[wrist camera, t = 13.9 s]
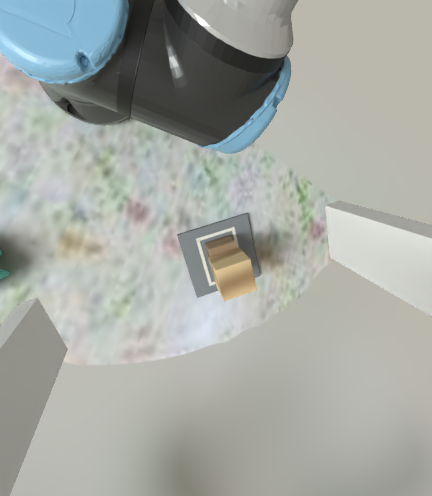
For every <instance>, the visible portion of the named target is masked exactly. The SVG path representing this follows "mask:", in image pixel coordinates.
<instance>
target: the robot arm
mask: <svg viewBox="0 0 432 496" xmlns="http://www.w3.org/2000/svg"><path fill="white" fill-rule="evenodd" d="M297 1H298V0H0V52H1V53H2V55H3V56H5V57H6V58H7V60H8V61H9V62H11V63H12V64H13V65H14V66H15V67H16V68H17V69H18V70H20V71H22V72H24V73H25V74H26V75H27V76H29V77H31V78H34V79H36V80H38V81H39V82H40V84H41V86H42V87H43V89H44V91H45V92H46V93H47V95H48V96H49V97H50V98H51V100H52V101H53V102H54V103H55V104H56V105H57V106H58V107H60V108H61V109H62V110H63V111H65V112H66V113H68V114H69V115H71V116H73V117H75V118H77V119H79V120H81V121H84V122H86V123H90V124H95V125H111V124H116V123H119V122H121V121H123V120H125V119H127V118H129V117H131V118H132V119H135V120H137V121H140V122H142V123H145V124H147V125H150V126H152V127H155V128H157V129H160V130H162V131H165V132H167V133H170V134H172V135H175V136H178V137H180V138H183V139H185V140H188V141H190V142H193V143H195V144H197V145H198V146H200V147H202V148H203V147H204V148H207V149H210V148H211V149H214V150H217V151H220V152H223V153H227V154H232V153H237V152H240V151H242V150H244V149H245V148H247V147H248V146H250V145H251V144H252V143H253V142H254V141H255V140H256V139H257V138H258V137H259V136H260V135H261V134H262V132H263V131H264V130H265V129H266V127H267V126H268V125H269V123H270V122H271V120H272V118H273V117H274V115H275V113H276V112H277V110H276V107H277V105H278V104H279V102H280V101H282V100H283V98H284V95H285V93H286V90H287V87H288V85H289V81H290V76H291V64H290V60H289V58H288V57H287V54H288V53H289V51H290V49H291V47H292V45H293V33H292V23H291V12H292V10H293V8H294V7H295V5H296V3H297ZM325 207H326V218H327V229H328V240H329V251H330V258H332V259H334V260H335V261H337V262H339V263H341V264H342V265H344V266H346V267H348V268H349V269H351V270H352V271H354V272H356V273H358V274H359V275H361V276H363V277H364V278H366V279H368V280H370V281H371V282H373V283H375V284H376V285H378V286H380V287H382V288H383V289H385V290H387V291H388V292H390V293H392V294H393V295H395V296H397V297H399V298H400V299H402V300H404V301H405V302H407V303H409V304H411V305H412V306H414V307H416V308H418V309H419V310H421V311H423V312H424V313H426V314H428V315H430V316H431V317H432V225H429V224H425V223H422V222H418V221H414V220H410V219H406V218H403V217H399V216H395V215H391V214H387V213H384V212H380V211H376V210H372V209H368V208H365V207H361V206H357V205H353V204H349V203H345V202H342V201H338V202H335V203H332V204H329V205H326V206H325ZM67 350H68V348H67V347H66V345H65V343H64V342H63V340H62V338H61V337H60V335H59V333H58V331H57V330H56V328H55V326H54V325H53V323H52V321H51V320H50V318H49V316H48V314H47V313H46V311H45V309H44V308H43V306H42V304H41V303H40V301H39V299H38V298H36V299H33V300H30V301H27V302H23V303H20V304H18V305H17V306H16V307H15V309H14V310H13V311H12V312H11V313H10V315H9V316H8V317H7V318H6V319H5V321H4V322H3V323H2V324H1V325H0V496H10V493H11V491H12V488H13V486H14V483H15V481H16V478H17V476H18V473H19V471H20V468H21V466H22V463H23V461H24V458H25V456H26V453H27V450H28V448H29V446H30V443H31V440H32V438H33V435H34V433H35V430H36V428H37V425H38V423H39V420H40V418H41V415H42V413H43V410H44V408H45V405H46V402H47V400H48V397H49V395H50V392H51V390H52V387H53V385H54V383H55V380H56V377H57V375H58V372H59V370H60V367H61V365H62V362H63V360H64V357H65V355H66V352H67Z"/></svg>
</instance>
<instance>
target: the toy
mask: <svg viewBox="0 0 432 496" xmlns="http://www.w3.org/2000/svg"><path fill="white" fill-rule="evenodd" d="M1 255H2V250H1V249H0V256H1ZM8 275H10V273H9V271H6V270H1V269H0V279H2V278H4V277H6V276H8Z"/></svg>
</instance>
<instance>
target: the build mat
mask: <svg viewBox="0 0 432 496" xmlns="http://www.w3.org/2000/svg"><path fill="white" fill-rule="evenodd" d="M227 235H229V236H230V237H231V238H232V239H233V240H234V241H235V244H236V248H238V247H239V248H240V249H241V250H242V251H243V252H244V253H245V254H246V255H247V256H248V257H249V258H250V260H251V265H252V269H253V274H254V278H256V277H259V276H260V273H259V268H258V263H257V258H256V253H255V249H254V244H253V239H252V234H251V229H250V224H249V220H248V215H247V213H245V214H242V215H239V216H235V217H232V218H229V219H226V220H223V221H219V222H216V223H213V224H210V225H207V226H203V227H200V228H197V229H194V230H191V231H187V232H184V233H181V234H178V235H177V236H178V239H179V242H180V245H181V248H182V252H183V255H184V258H185V261H186V264H187V267H188V270H189V273H190V277H191V280H192V283H193V286H194V289H195V292H196V295H197V298H198V297H201V296H204V295H207V294H209V293H212V292H215V291H218V288H217V286H216V284H215V280H214V277H213V273H212V270H211V266H210V263H209V259H208V253H207V250H206V246H205V242H209V241H212V240H215V239H218V238H221V237H224V236H227Z"/></svg>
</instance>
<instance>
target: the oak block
mask: <svg viewBox="0 0 432 496" xmlns="http://www.w3.org/2000/svg"><path fill="white" fill-rule="evenodd" d="M208 259H209V263H210V266H211V270H212V273H213V277H214V280H215V284H216V286H217V288H218V290H219V292H220V294H221V296H222V298H223V300H224V301H226V300H229V299H232V298H235V297H238V296H241V295H243V294H246V293H249V292H252V291H255V290H257V288H256V283H255V279H254V274H253V269H252V265H251V260H250V258H249V257H248V256H247V255H246V254H245V253H244V252H243V251H242V250H241V249H240V248H239V247H238V248H235V249H232V250H229V251H226V252H222V253H219V254H216V255H213V256H210V257H208Z"/></svg>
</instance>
